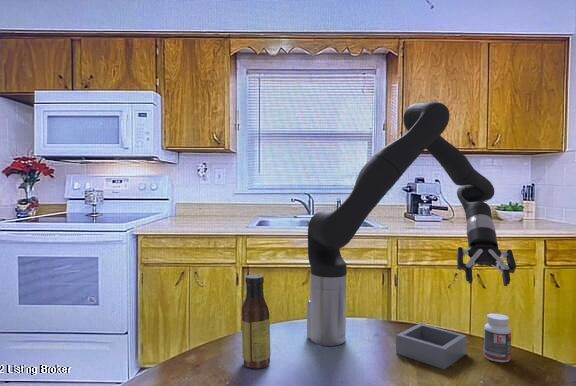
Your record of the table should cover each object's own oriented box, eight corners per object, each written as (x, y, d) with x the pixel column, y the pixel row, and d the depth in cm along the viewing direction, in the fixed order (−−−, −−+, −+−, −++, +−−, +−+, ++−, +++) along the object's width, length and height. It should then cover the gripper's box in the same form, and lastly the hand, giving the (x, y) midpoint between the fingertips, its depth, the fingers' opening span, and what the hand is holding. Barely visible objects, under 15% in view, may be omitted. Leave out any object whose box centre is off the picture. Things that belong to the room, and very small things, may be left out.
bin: (395, 353, 102) (396, 334, 102) (419, 340, 111) (420, 323, 111) (444, 369, 94) (445, 349, 94) (466, 354, 103) (466, 335, 103)
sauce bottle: (274, 360, 98) (275, 274, 97) (264, 372, 92) (265, 280, 91) (248, 356, 100) (249, 271, 99) (236, 367, 94) (237, 277, 93)
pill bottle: (513, 364, 97) (515, 321, 97) (487, 362, 98) (488, 319, 98) (506, 354, 103) (507, 313, 103) (481, 352, 104) (482, 311, 104)
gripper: (456, 224, 121) (461, 273, 110) (511, 227, 118) (521, 277, 107) (453, 240, 126) (457, 288, 116) (505, 243, 123) (515, 293, 112)
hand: (488, 283), depth 111 cm, fingers open, 8 cm apart
